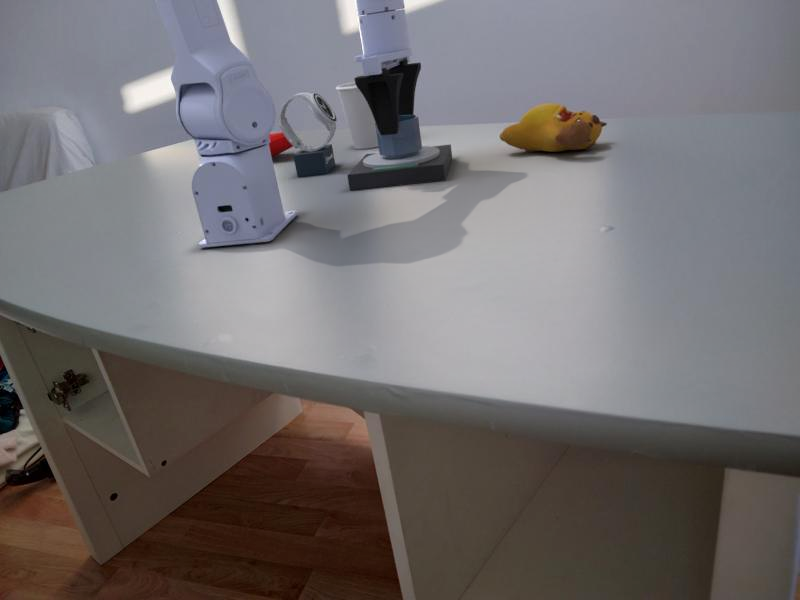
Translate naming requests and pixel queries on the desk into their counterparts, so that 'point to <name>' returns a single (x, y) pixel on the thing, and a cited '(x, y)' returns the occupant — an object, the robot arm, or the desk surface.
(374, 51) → the robot arm
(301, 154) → the watch
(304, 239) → the desk surface
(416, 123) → the blue cup
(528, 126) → the toy
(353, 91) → the dixie cup
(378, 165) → the scale
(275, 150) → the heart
